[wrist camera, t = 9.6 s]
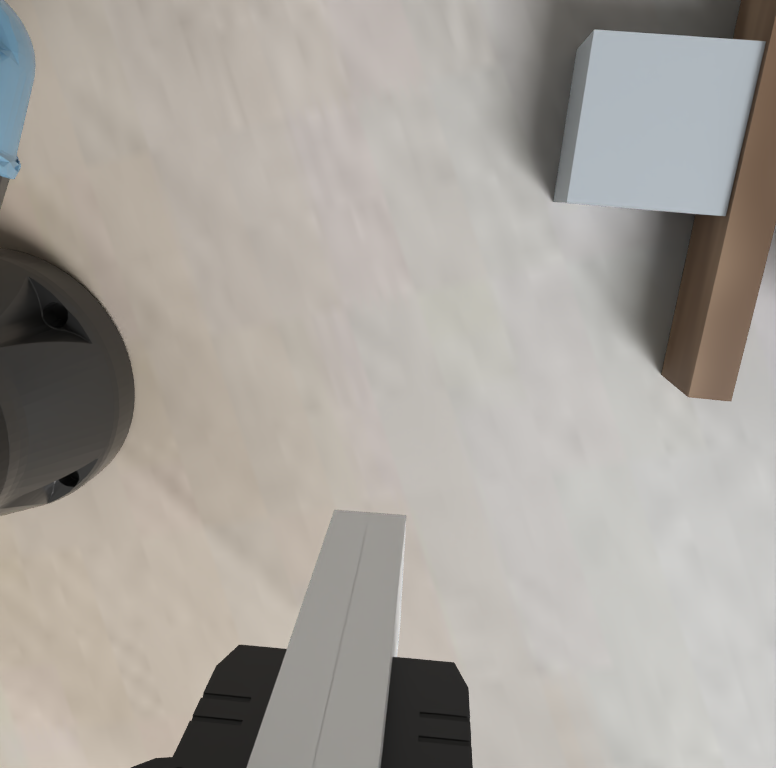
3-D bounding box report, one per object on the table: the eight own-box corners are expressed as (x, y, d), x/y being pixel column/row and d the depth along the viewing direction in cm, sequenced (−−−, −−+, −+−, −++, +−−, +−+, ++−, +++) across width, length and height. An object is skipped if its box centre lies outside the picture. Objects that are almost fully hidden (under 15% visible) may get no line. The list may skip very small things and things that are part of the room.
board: (661, 374, 34) (688, 396, 30) (764, -107, 28) (814, -155, 24) (698, 378, 34) (730, 401, 30) (811, -104, 27) (870, -153, 24)
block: (552, 202, 32) (566, 202, 28) (575, 50, 30) (594, 29, 26) (692, 214, 32) (725, 216, 28) (725, 61, 30) (766, 41, 26)
